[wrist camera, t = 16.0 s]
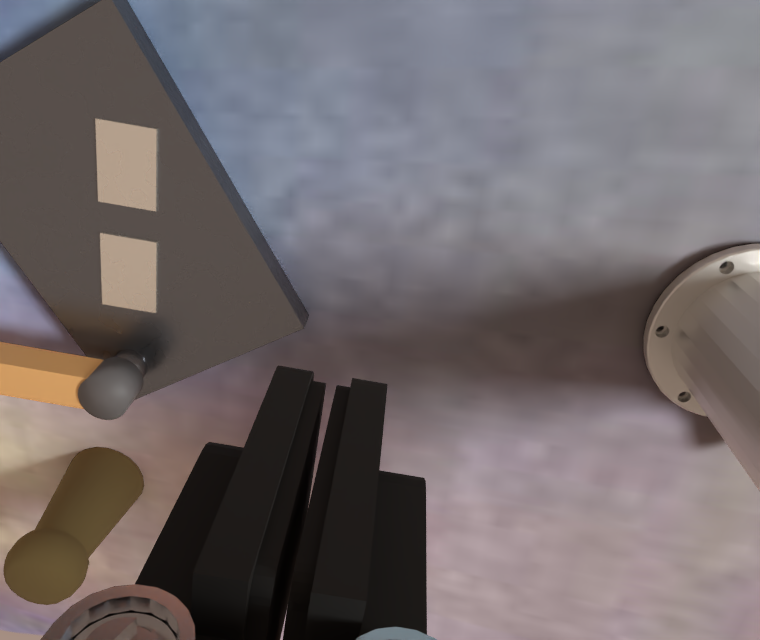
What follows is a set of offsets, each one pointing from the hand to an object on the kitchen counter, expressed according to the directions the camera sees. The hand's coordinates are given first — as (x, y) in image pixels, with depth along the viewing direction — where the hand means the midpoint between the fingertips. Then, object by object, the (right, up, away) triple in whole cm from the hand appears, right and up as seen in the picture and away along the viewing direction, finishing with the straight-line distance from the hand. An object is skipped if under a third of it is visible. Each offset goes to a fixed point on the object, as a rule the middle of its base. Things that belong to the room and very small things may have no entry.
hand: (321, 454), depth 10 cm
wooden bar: (-26, 0, +33) cm, 42 cm away
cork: (-21, -11, +42) cm, 49 cm away
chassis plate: (-16, +9, +33) cm, 37 cm away
